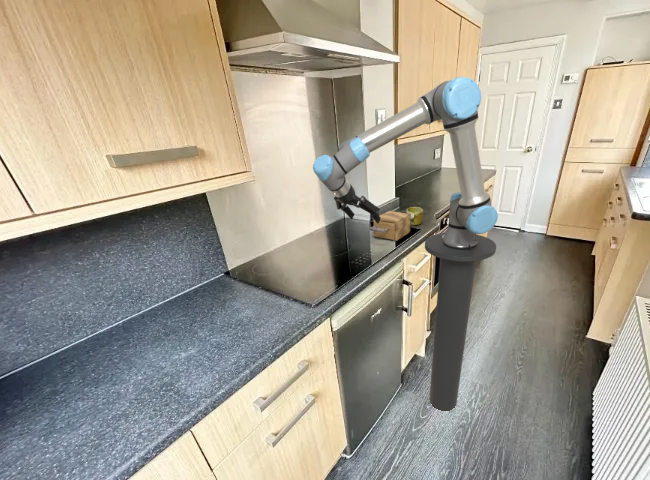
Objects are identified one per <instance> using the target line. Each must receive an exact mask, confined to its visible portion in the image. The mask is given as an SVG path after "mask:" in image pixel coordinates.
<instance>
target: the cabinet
mask: <svg viewBox="0 0 650 480" xmlns="http://www.w3.org/2000/svg"><path fill="white" fill-rule="evenodd" d="M379 216H380V217H381V219H380V221H387V222H393V223H395V239H394V240H392V239H389V240H390V241H391V240H392V241H396V242H397V241H398V240H401V239H402V238H403V237H404V236H406V235H408V234H409V233H411V225H410V217H411V214H408V213H406V212H400V211H393V210H392V211H391V210H388V211H386V212H384V213H382V214H379ZM374 221H375V220H374V219H373V222H374ZM374 237H375V238H377V237H376V236H374ZM379 238H380V239H382V238H381V237H378V239H379ZM384 239H385V240H388V239H387V238H384Z"/></svg>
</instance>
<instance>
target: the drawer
mask: <svg viewBox="0 0 650 480" xmlns="http://www.w3.org/2000/svg"><path fill="white" fill-rule="evenodd" d="M369 231H372V232H373V237H375V236H376V237H375V238H379V237H381V238H380V239H385V238H387V239H386V240H390V239H392V241H395V240H394V239H395V223H393V222H387V221H379V223H377V222H376V221H374V220H373V226H370V227H369Z"/></svg>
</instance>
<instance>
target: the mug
mask: <svg viewBox="0 0 650 480" xmlns="http://www.w3.org/2000/svg"><path fill="white" fill-rule="evenodd" d="M405 213H408V214H411V217H410V227H411V226H419V225H421V224H422V222H423V218H424V209H423V208H422V207H420V206H410V207H408V208H406V210H405Z"/></svg>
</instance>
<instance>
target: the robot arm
mask: <svg viewBox="0 0 650 480" xmlns="http://www.w3.org/2000/svg"><path fill="white" fill-rule="evenodd" d="M481 100H482V93H481V89H480V87H479V84H477V82H476V81H475V80H473V79H472V78H470V77H466V76H465V77H464V76H458V77H454V78H453V79H450V80H445V81H444V82H441V83H440V84H438V85H437V86H435V87H434V88H433V89H431V90H430V91H428V92H427V93H425V94H423V95H422V96H420V97H418V98H417V102H416V103H414V104H412V105H410V106H409V107H406V108H404V109H402V110H401V111H399V112H397V113H395V114H394V115H392V116H390V117H388V118H386V119H385V120H383V121H381V122H379V123H377V124H375V125H374V126H372V127H370V128H368V129H366V130H364V131H362V132H360V133H359V134H358V135H356V136H354V137H352V138H350V139H348V140H344V141H342V143H341V144H340V145H339V148H338V151H337V152H336V153H335V154H333V155H332V156H330V155H328V154H322V155H320V156H318V157H317V158H316V159H315V160H314V162H313V164H312V171H313V173H314V174H315V175H316V177H317V178H318V179H319V181H321V183H322V184H323V185H325V187H326V188H327V189H328V191H330V193H331V194H332V196H334V197H333V200H334V201H335V206H336V209H337V210H340V211H341V212H344V213H345V214H346V216H348V218H349V219H351V220H353V219H354V217H355V212H354V211H353V210H352V209H351V208H350V207H349V206H352V207H353V206H354V207H355V208H358V209H361V210H363V211H365V212H367V213H368V214H370V216H371V217H372V219H373V221H374V220H375V221H376V222H377V223H379V221H380V219H381V217H380V214H379V212H380V210H381V209H380V207H378V206H377V205H375V204H374V203H372V202H371V201H370V200H369V199H367V198H366V196H364V195H361V196H360V197H359V196H358V195H357V194H356V190H355V187H353V185H352V184H351V182H350V181H349V180H348V178H347V177H346V175H347V174H349V173H350V172H351V171H353V170H354V169H356V168H357V167H358V166H359V165H360V164H362V163H364V162H365V161H366V160H367V159H368V158H370V155H371V153H373V152H374V151H376V150H378V149H379V148H381V147H384V146H385V145H387V144H389V143H391V142H393V141H394V140H396V139H398V138H401V137H402V136H405V135H406V134H408V133H410V132H411V131H414V130H415V129H417V128H419V127H421V126H423V125H424V124H425V125H431V124H433V123H434V122H437V121H440V120H441V121H442V127H443V130H444V131H446V132H447V133H448V134H449V137H450V143H451V148H452V154H453V159H454V164H455V169H456V175H457V179H458V184H459V190H460V191H459V192H454V193H452V194H451V195H450V200H449V212H448V224H447V228H446V230H445V232H444V233H445V234H444V235H442V238H443V244H444V245H445V246H447V247H449V248H453V249H470V250H472V248H474V247H476V246H477V242H478V241H477V235H483V234H487V233H488V232H490V231H491V230H492V229H493V228H494V226H495V225H496V224H497V222H498V215H499V213H498V210H496V208H495V207H494V206H493V205H492V201H491V200H492V199H491V195H490V193H488V192H487V191H486V189H485V183H484V182H485V181H484V176H483V170H482V169H483V168H482V163H481V157H480V151H479V144H478V138H477V132H476V123H477V121H478V120H479V111H478V109H479V107H480V105H481ZM476 234H477V235H476Z"/></svg>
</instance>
